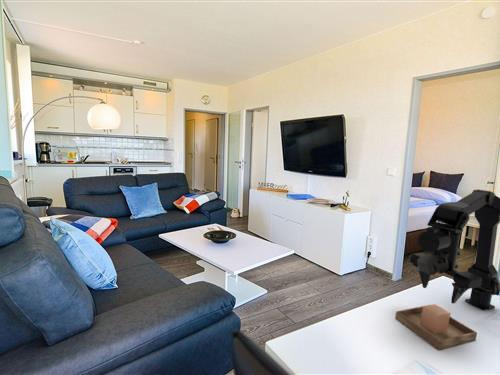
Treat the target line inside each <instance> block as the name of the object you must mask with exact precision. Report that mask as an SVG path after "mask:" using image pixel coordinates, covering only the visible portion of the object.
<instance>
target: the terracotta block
mask: <svg viewBox="0 0 500 375" xmlns="http://www.w3.org/2000/svg"><path fill="white" fill-rule="evenodd" d="M422 306H423V311H422V317H421V324H422V325H423V326H424V327H426V328H427V329H429V330H430V331H432V332H433V333H435V334H437V333H441V332H445V331H447V329H448V324H449V318H450V317H451V312H449V311H448V310H446V309H444V308H443V307H441V306H439V305H437V304H436V303H433V304H427V306H426V305H422Z"/></svg>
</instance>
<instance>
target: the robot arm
mask: <svg viewBox="0 0 500 375" xmlns="http://www.w3.org/2000/svg"><path fill="white" fill-rule="evenodd" d="M473 213H474V218H475V219H476V221H477V222H478V224H479V226H478V236H477V244H476V254H475V261H474V263H473V264H472V265H470V266H469V267H468V269H467V271H460V272H459V271H456V269H458V268H459V265H458V264H456V263H457V262H456V261H457V257H458V256H460V255H461V251H459V250H458V249H459V246H460V245H459V244H460V239H461V233H462V232H464V228H465V227H466V226H467V224H468V222H469V221H470V215H472V214H473ZM499 224H500V197H499V196H497V195H496V194H495V193H494V192H492V191H491V190H484V189H474V190H472V192H471V193H470V194H467V195H466V196H464V197H462V198H460V199H459V200H457V201H454V202H453V201H451V202H450V201H447V202H443V203H440V204H439V205H438V206H437V207H436V208H435V209H434V211H433V213H432V215H431V217H430V219H429V220H428V223H427V226H428V227H427V229H426V231H422V232H421V233H420V234H419V236H418V240H417V241H418V246H419V247H420V248H421V249H422V250H423V251H425V252H427V253H428V254H427V253H424V252H417V253H412V254H410V256H409V261H408V262H409V263H411V264H412V266H413V267H414V268H415V269H416V270H417V271H418V273H419V276H420V282H421V285H422V288H423V289H427V287H428V285H429V282H430V278H431V276H434V275H437V274H439V275H442V274H445V275H449V276H450V277H452V278H453V279H452V280H453V282H452V283H451V285H452V287H453V289H452V294H451V300H450V301H451V304H455V303H457V302H458V301H459V299H460V298H461V297H462V296H463V294H465V293H466V292H467V291H468V290H470V289H471V292H470V296H469V298H465V300H464V301H465V302H467V303H469V304H470V305H472V306H474V307H476V308H478V309H480V310H482V311H487V310H492V309H495V308H496V306H495V305H493V304H492V303H491V302H492V296H500V280H499V278H498V277H499V276H498V274H499V273H498V270H497V269H496V267H495V265H494V264H493V263H494V256H495V249H496V241H497V233H498V226H499Z"/></svg>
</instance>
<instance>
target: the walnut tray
mask: <svg viewBox="0 0 500 375" xmlns="http://www.w3.org/2000/svg"><path fill="white" fill-rule="evenodd" d="M427 305H428V304H427ZM427 305H425V306H427ZM423 306H424V305H422V306H418V307H417V306H415V307H412V308H406V309H401V310H397V311H396V312H395V320H397V321H398V322H400V323H401V324H402V325H404V326H405V327H406V328H408V329H409V330H410V331H412V332H413V333H414V334H416V335H417V336H418V337H420V338H421V339H422V340H424V341H426V343H428V344H430V345H431V346H432V347H434V349H436V350H438V351H442V350H446V349H449V348H453V347H456V346H461V345H463V344H467V343H471V342H475V341H476V340H477V335H478V332H477V331H475V330H473V329H472V328H470V327H468V326H467V325H465V324H464V323H461V321H459V320H456V319H455V318H453V317H452V316H450V318H449V324H448V329H447V331H445V332H441V333H437V334H435V333H433V332H432V331H430V330H429V329H427V328H426V327H424V326H423V325H422V324H421V317H422V311H423Z"/></svg>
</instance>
